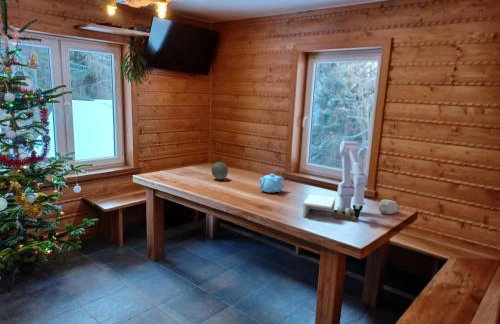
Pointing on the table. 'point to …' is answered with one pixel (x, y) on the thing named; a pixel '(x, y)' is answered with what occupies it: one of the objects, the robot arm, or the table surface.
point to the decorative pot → (271, 183)
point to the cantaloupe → (219, 170)
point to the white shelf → (318, 204)
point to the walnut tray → (343, 214)
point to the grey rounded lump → (388, 207)
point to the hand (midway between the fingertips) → (356, 217)
